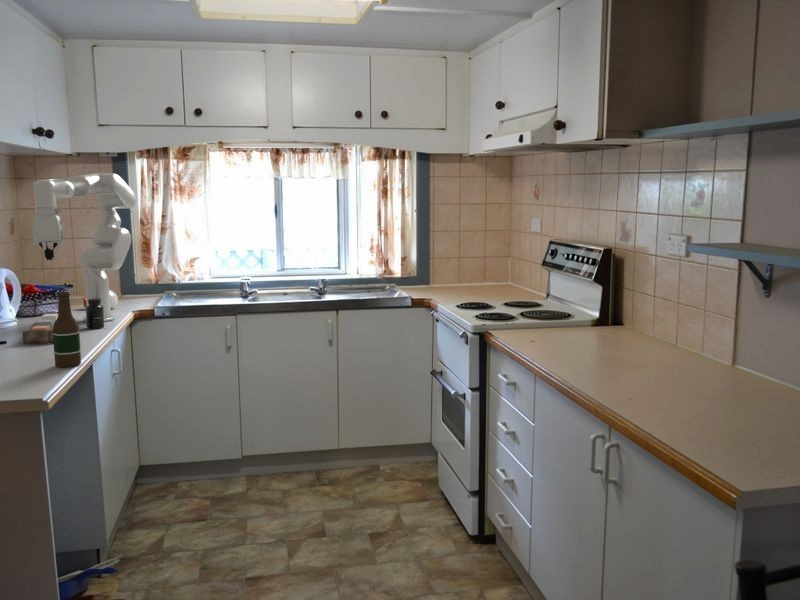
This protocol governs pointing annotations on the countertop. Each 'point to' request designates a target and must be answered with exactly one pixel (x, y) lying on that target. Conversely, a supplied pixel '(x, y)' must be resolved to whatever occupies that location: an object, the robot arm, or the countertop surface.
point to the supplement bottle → (94, 314)
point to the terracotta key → (41, 328)
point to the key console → (37, 335)
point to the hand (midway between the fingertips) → (49, 259)
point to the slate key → (46, 322)
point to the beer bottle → (66, 335)
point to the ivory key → (49, 316)
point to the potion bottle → (112, 299)
